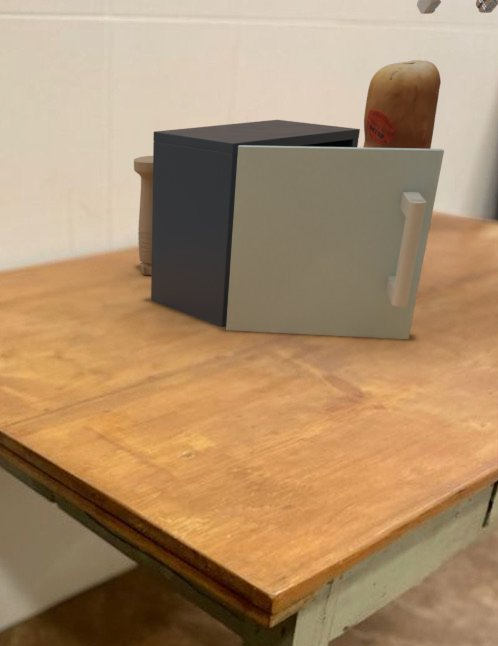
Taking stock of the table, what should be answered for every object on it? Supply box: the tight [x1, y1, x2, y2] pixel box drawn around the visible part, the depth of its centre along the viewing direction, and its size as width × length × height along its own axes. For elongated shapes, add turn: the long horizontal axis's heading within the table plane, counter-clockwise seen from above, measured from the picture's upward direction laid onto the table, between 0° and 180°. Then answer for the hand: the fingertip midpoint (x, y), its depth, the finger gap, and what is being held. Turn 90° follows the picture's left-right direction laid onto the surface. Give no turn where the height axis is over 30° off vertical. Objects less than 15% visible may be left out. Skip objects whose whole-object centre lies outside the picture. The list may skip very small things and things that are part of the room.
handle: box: [133, 155, 153, 276], centre depth 111 cm, size 5×6×15 cm
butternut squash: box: [363, 59, 441, 149], centre depth 136 cm, size 14×13×25 cm
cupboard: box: [150, 119, 361, 328], centre depth 98 cm, size 13×20×20 cm, turn 127°
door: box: [225, 145, 445, 340], centre depth 84 cm, size 7×20×20 cm, turn 81°
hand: (453, 9), depth 96 cm, fingers open, 8 cm apart
